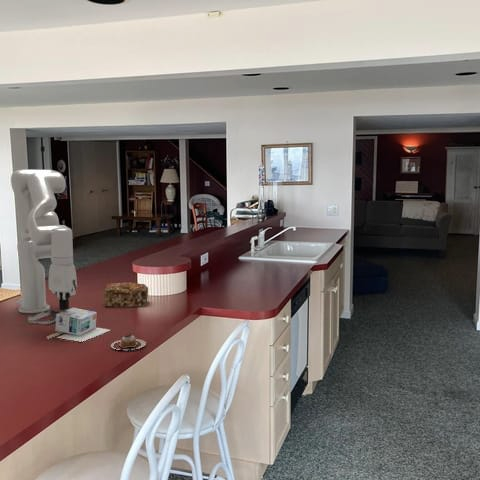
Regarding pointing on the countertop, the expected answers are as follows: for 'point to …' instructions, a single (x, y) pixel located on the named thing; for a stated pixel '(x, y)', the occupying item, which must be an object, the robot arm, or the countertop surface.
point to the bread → (125, 294)
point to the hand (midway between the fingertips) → (64, 309)
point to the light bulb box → (75, 321)
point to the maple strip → (54, 334)
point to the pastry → (129, 342)
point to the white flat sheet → (85, 335)
